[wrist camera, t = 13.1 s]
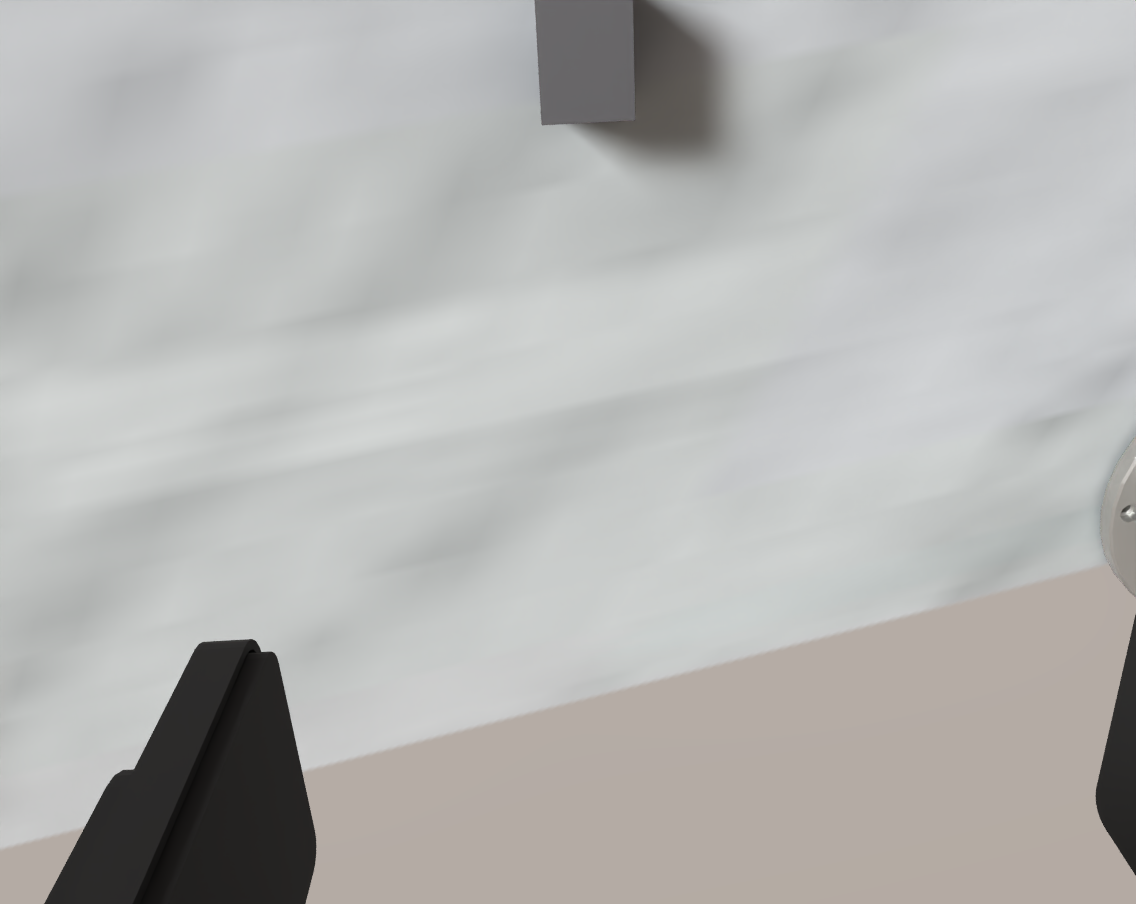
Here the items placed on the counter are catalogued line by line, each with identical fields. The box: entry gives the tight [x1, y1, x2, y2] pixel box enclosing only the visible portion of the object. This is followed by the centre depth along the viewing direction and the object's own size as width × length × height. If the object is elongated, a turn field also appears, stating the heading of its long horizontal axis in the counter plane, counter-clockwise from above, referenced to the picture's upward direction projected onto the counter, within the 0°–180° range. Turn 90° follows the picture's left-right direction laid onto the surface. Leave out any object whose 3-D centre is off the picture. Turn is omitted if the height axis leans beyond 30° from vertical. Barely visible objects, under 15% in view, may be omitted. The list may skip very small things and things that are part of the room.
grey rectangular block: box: [535, 0, 635, 125], centre depth 34 cm, size 3×4×5 cm
